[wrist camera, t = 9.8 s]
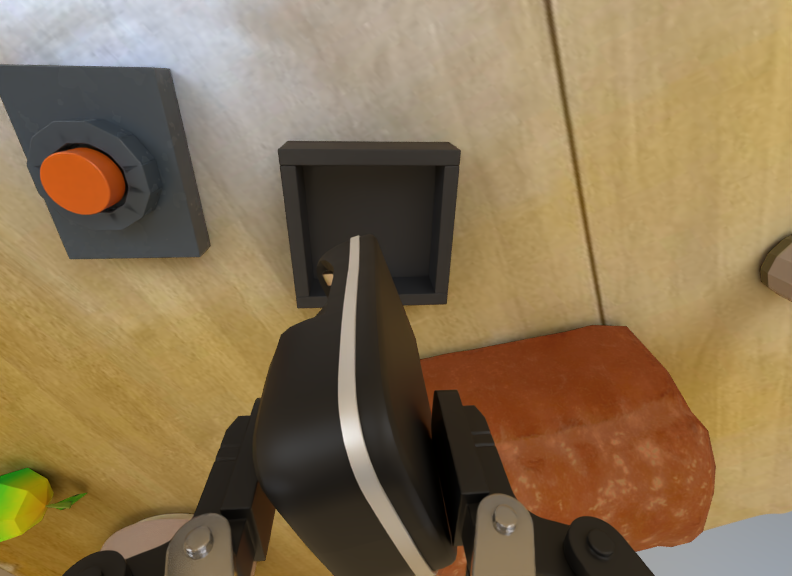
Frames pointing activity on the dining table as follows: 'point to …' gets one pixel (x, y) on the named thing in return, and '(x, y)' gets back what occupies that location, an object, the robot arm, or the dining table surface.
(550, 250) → the dining table surface
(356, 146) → the dock
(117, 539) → the container
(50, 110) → the switch box
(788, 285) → the bottle
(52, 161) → the power button
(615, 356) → the bread
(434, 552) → the battery charger
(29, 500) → the apple
